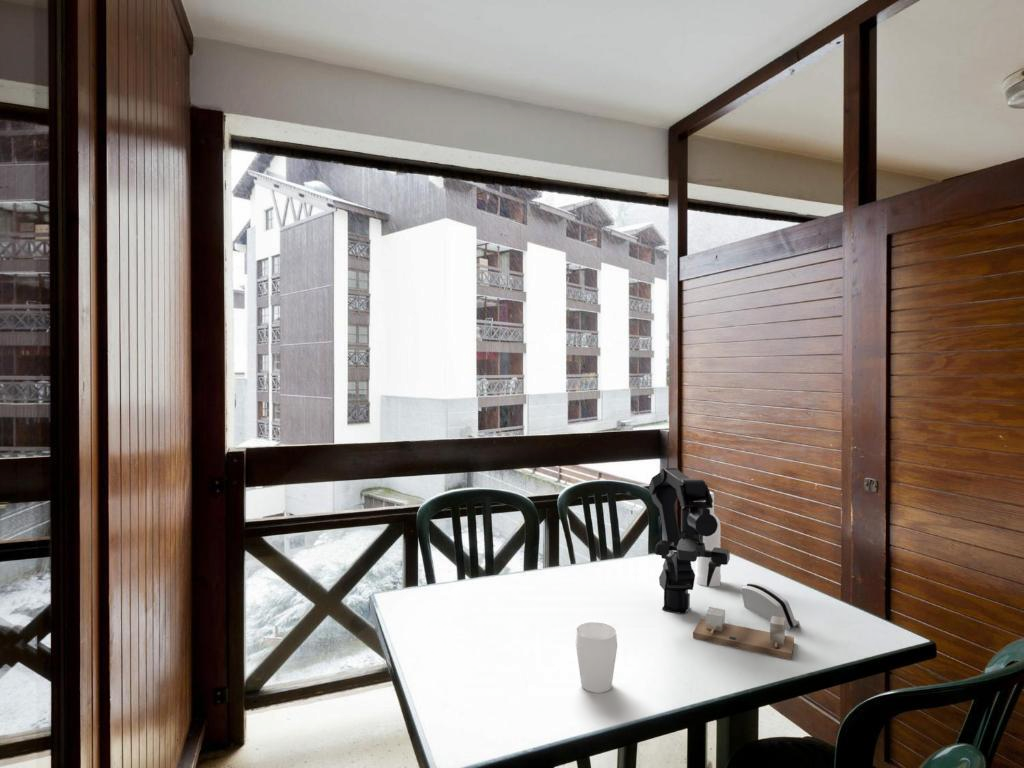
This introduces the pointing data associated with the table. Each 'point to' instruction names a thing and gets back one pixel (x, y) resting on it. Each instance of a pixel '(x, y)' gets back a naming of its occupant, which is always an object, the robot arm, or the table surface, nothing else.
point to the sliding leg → (715, 619)
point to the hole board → (751, 637)
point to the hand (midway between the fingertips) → (691, 583)
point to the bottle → (704, 561)
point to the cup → (596, 655)
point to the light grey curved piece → (767, 603)
